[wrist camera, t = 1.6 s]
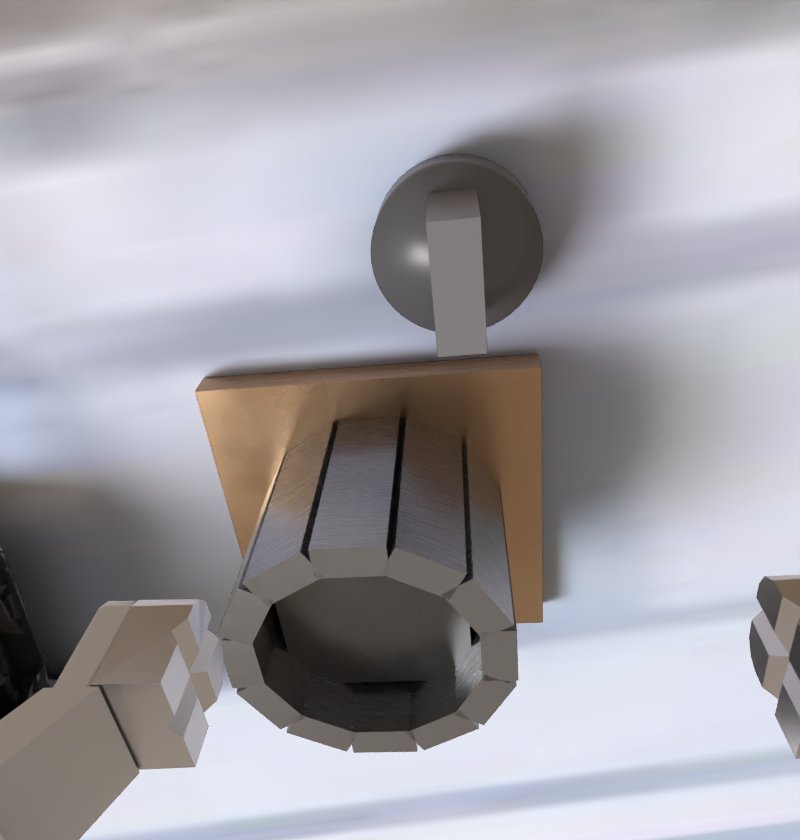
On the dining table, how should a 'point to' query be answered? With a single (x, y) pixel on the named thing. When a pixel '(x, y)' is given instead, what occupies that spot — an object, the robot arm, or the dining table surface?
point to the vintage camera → (17, 648)
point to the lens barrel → (380, 543)
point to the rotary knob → (456, 249)
